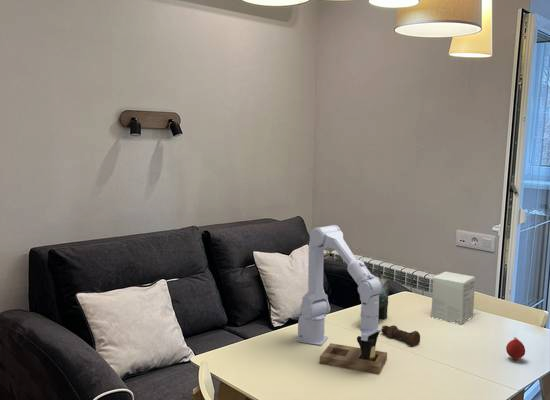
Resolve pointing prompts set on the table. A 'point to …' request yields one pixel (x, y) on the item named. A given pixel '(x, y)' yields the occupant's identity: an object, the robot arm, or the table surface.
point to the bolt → (402, 334)
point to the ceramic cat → (383, 298)
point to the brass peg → (372, 355)
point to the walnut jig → (352, 358)
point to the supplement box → (453, 297)
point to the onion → (515, 349)
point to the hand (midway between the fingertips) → (368, 354)
